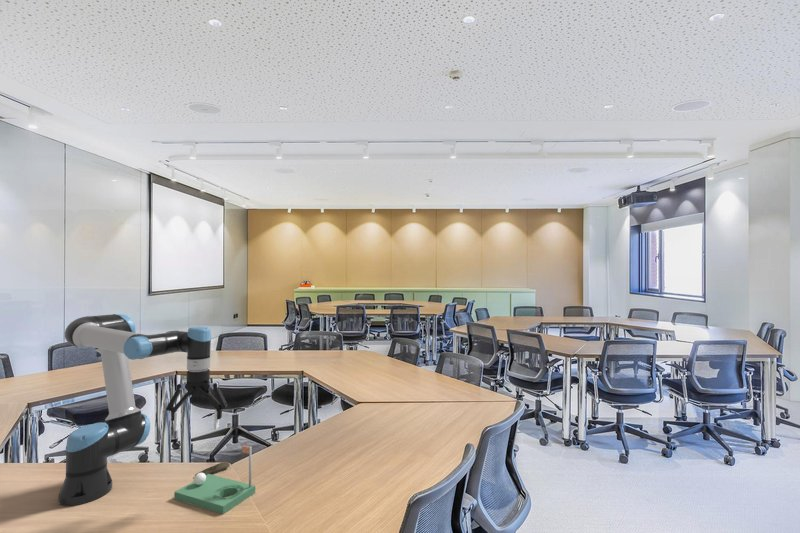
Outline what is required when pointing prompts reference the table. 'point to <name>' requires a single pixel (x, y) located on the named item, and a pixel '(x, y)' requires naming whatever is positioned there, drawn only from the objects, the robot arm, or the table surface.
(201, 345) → the robot arm
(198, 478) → the ball
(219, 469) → the stone
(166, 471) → the table surface
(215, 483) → the green
